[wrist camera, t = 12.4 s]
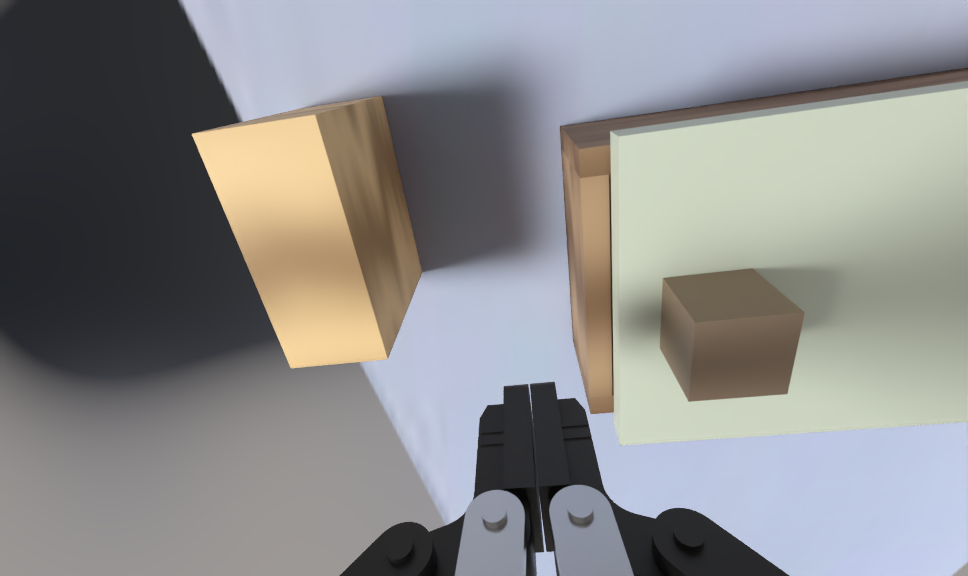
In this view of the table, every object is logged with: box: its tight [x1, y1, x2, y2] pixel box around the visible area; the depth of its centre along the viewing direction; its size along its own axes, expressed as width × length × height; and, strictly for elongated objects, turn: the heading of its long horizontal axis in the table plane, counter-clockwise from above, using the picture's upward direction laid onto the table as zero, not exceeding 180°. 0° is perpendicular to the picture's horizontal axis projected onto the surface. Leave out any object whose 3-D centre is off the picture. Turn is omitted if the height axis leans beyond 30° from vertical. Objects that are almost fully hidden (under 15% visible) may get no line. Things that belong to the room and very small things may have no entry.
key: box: [192, 96, 422, 368], centre depth 19 cm, size 9×4×8 cm, turn 8°
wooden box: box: [560, 68, 968, 414], centre depth 19 cm, size 12×24×6 cm, turn 98°
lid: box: [610, 81, 968, 445], centre depth 15 cm, size 13×17×4 cm
